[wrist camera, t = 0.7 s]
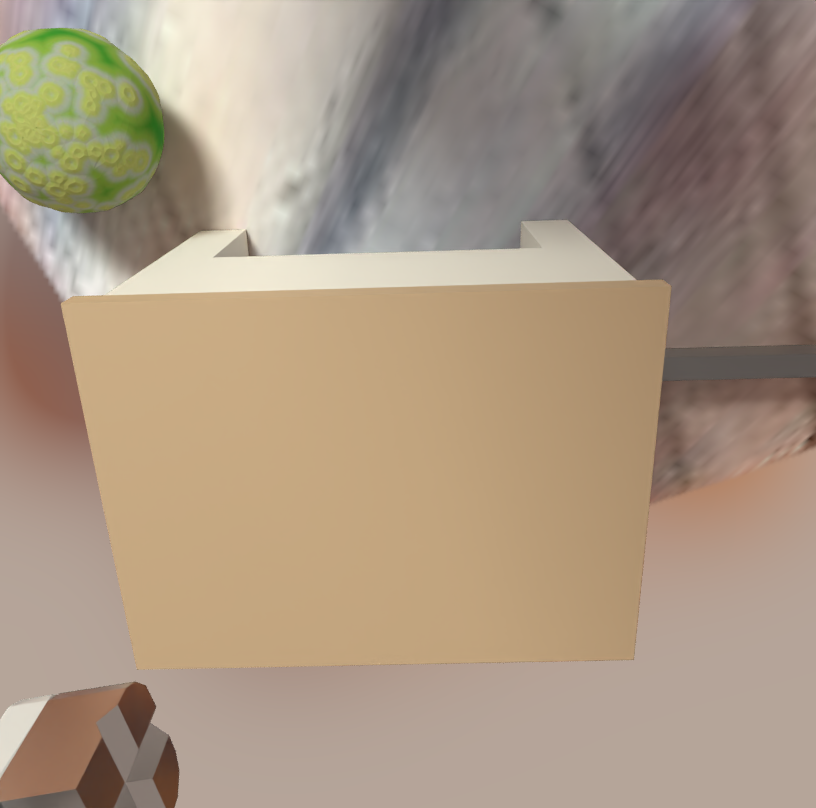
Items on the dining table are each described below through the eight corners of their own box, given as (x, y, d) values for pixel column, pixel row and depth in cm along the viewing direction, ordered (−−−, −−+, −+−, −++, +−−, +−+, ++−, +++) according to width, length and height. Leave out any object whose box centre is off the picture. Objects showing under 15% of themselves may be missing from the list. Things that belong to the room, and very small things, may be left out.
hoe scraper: (577, 409, 55) (589, 434, 51) (584, 286, 52) (598, 303, 48) (967, 400, 55) (1010, 424, 51) (1000, 275, 51) (1049, 290, 47)
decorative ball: (212, 167, 49) (166, 185, 40) (76, 223, 50) (0, 254, 41) (138, 4, 46) (68, -17, 36) (-6, 70, 47) (-109, 66, 38)
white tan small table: (191, 223, 50) (60, 303, 32) (575, 211, 50) (671, 286, 31) (226, 480, 58) (136, 669, 39) (561, 472, 57) (633, 659, 38)
